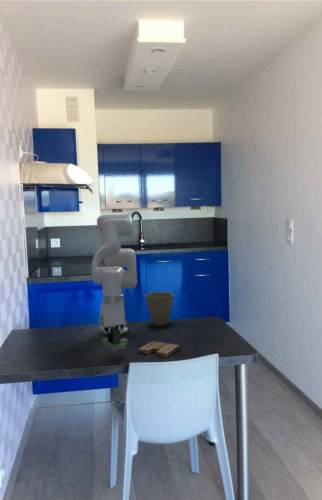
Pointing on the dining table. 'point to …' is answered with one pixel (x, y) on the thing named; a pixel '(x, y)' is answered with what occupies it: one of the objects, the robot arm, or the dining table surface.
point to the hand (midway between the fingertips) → (113, 340)
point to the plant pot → (159, 306)
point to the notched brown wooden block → (159, 348)
